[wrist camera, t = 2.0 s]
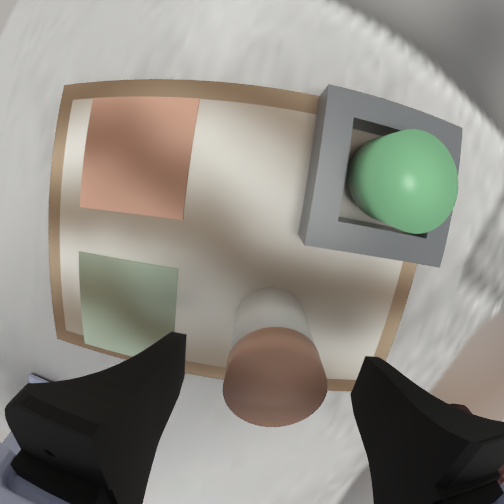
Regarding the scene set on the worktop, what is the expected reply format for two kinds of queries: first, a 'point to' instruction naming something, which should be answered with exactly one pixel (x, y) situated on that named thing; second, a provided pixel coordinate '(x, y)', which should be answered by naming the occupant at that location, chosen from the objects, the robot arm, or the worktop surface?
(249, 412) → the marker
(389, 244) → the button housing
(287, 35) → the worktop surface
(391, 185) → the button
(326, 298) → the board
